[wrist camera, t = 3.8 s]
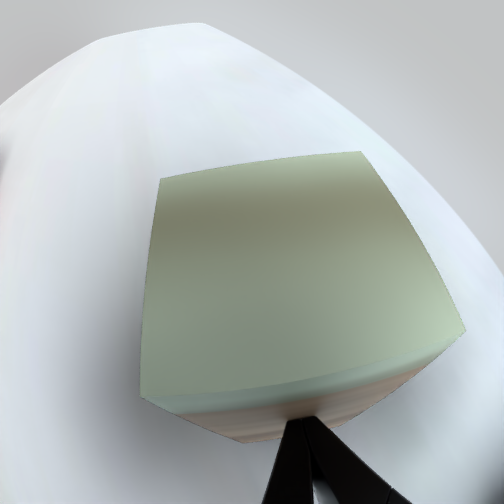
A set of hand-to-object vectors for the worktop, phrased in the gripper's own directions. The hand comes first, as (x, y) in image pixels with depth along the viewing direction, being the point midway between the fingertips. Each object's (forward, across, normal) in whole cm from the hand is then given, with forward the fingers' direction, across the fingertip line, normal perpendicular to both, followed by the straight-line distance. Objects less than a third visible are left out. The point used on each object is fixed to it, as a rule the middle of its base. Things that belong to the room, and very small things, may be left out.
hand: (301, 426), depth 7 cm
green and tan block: (+6, 0, +4) cm, 8 cm away
